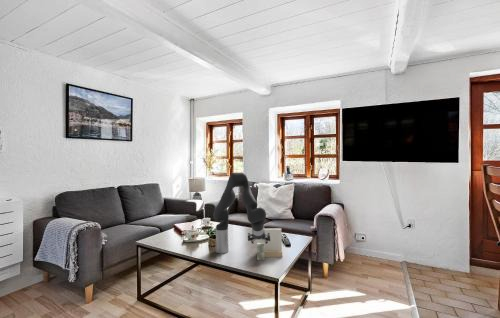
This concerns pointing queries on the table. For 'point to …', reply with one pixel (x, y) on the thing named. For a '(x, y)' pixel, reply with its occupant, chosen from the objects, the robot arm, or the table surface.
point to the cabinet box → (260, 251)
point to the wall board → (273, 243)
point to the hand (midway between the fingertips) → (259, 242)
